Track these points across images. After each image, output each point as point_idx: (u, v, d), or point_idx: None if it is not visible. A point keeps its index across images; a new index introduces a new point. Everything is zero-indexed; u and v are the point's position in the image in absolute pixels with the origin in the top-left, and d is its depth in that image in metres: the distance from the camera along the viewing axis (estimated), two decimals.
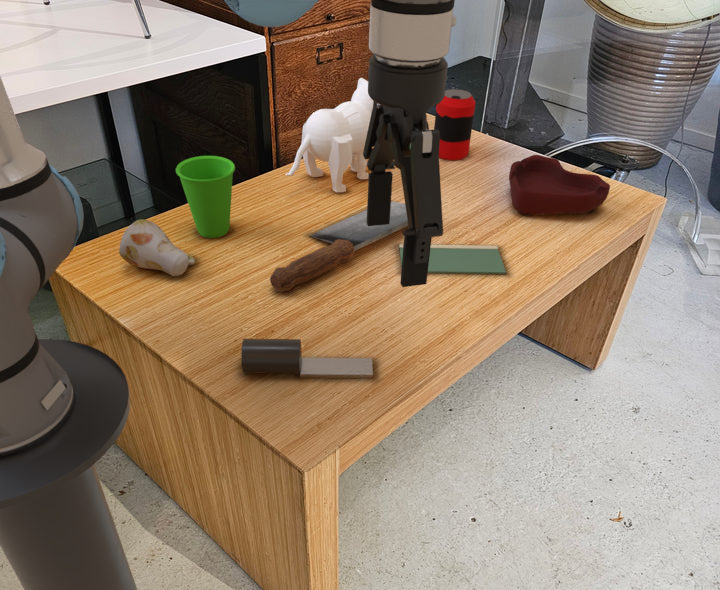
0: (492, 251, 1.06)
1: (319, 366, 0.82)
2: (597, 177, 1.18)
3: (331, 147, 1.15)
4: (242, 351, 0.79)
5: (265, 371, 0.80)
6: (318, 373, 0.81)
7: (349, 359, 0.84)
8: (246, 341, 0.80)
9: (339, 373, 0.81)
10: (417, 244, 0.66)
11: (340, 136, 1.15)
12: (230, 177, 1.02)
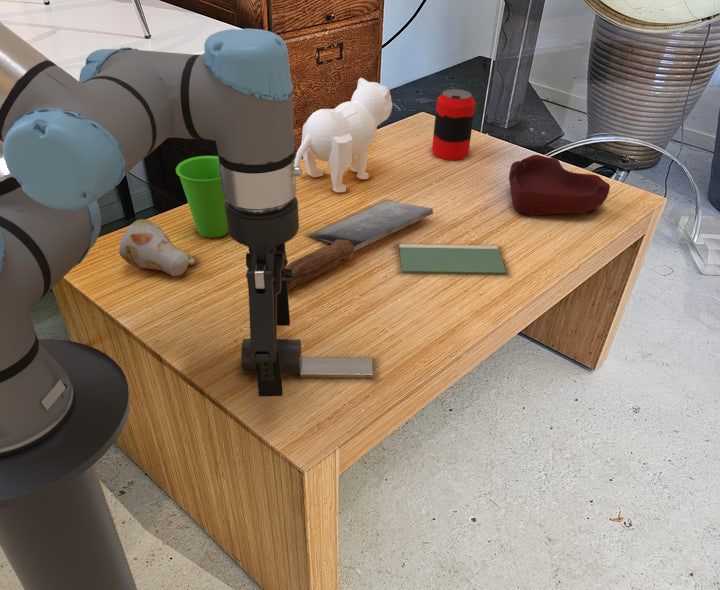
0: (492, 251, 1.06)
1: (319, 366, 0.82)
2: (597, 177, 1.18)
3: (331, 147, 1.15)
4: (242, 351, 0.79)
5: None
6: (318, 373, 0.81)
7: (349, 359, 0.84)
8: (246, 341, 0.80)
9: (339, 373, 0.81)
10: (260, 364, 0.71)
11: (340, 136, 1.15)
12: None
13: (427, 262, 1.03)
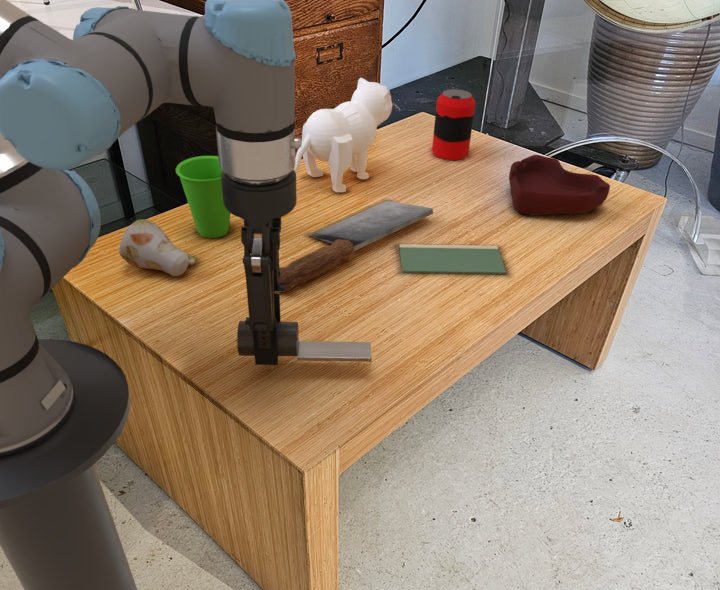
0: (492, 251, 1.06)
1: (316, 349, 0.81)
2: (597, 177, 1.18)
3: (331, 147, 1.15)
4: (238, 333, 0.78)
5: None
6: (315, 356, 0.80)
7: (347, 343, 0.82)
8: (242, 323, 0.78)
9: (336, 357, 0.80)
10: (258, 333, 0.74)
11: (340, 136, 1.15)
12: None
13: (427, 262, 1.03)
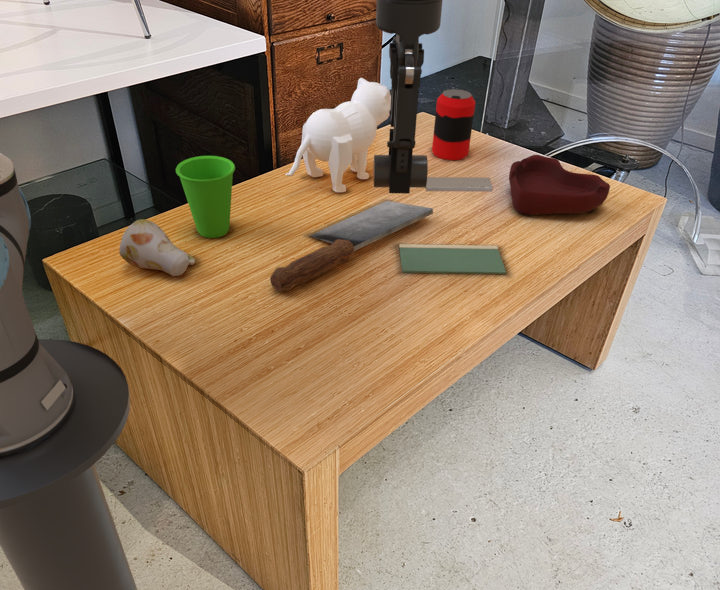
0: (492, 251, 1.06)
1: (442, 182, 0.89)
2: (597, 177, 1.18)
3: (331, 147, 1.15)
4: (375, 162, 0.86)
5: None
6: (442, 186, 0.88)
7: (468, 178, 0.91)
8: (377, 155, 0.87)
9: (461, 186, 0.88)
10: (398, 155, 0.83)
11: (340, 136, 1.15)
12: (230, 177, 1.02)
13: (427, 262, 1.03)
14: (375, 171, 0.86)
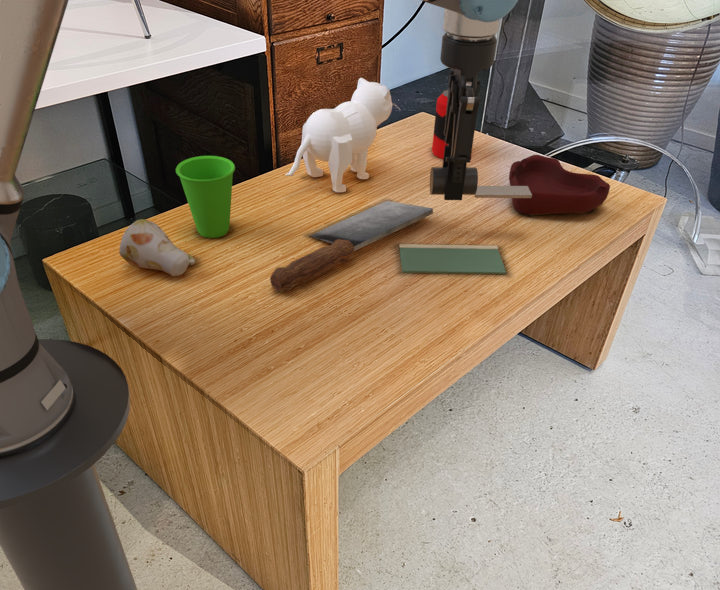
0: (492, 251, 1.06)
1: (488, 190, 1.05)
2: (597, 177, 1.18)
3: (331, 147, 1.15)
4: (433, 174, 1.02)
5: None
6: (489, 194, 1.04)
7: (510, 186, 1.06)
8: (435, 168, 1.03)
9: (505, 194, 1.04)
10: (454, 168, 0.99)
11: (340, 136, 1.15)
12: (230, 177, 1.02)
13: (427, 262, 1.03)
14: (433, 181, 1.02)
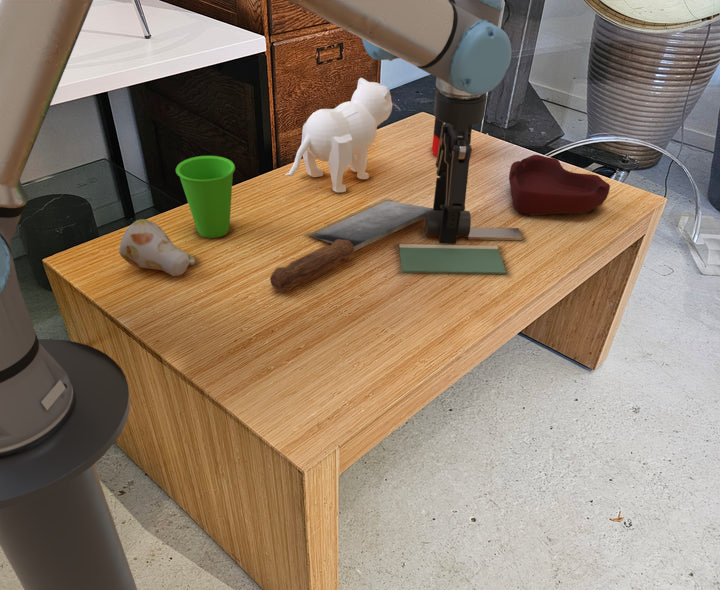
0: (492, 251, 1.06)
1: (481, 232, 1.10)
2: (597, 177, 1.18)
3: (331, 147, 1.15)
4: (428, 217, 1.07)
5: None
6: (481, 236, 1.09)
7: (501, 228, 1.11)
8: (430, 211, 1.08)
9: (497, 236, 1.09)
10: (449, 215, 1.02)
11: (340, 136, 1.15)
12: (230, 177, 1.02)
13: (427, 262, 1.03)
14: (428, 224, 1.07)
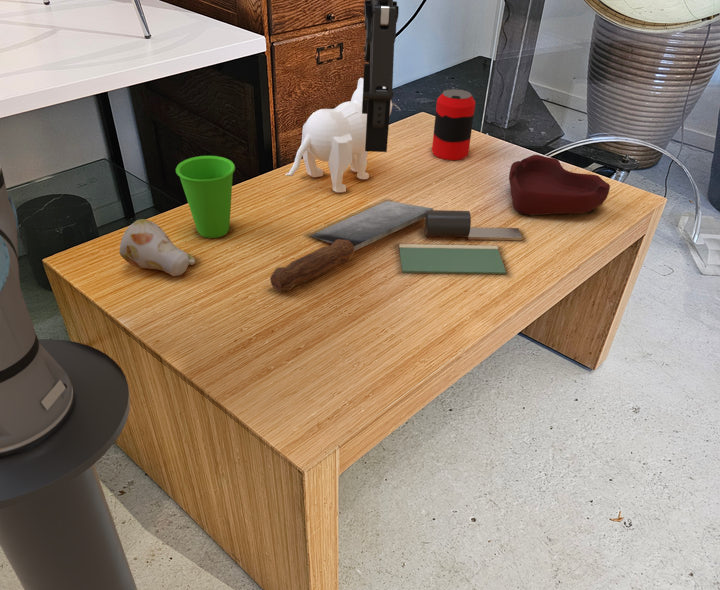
0: (492, 251, 1.06)
1: (481, 232, 1.10)
2: (597, 177, 1.18)
3: (331, 147, 1.15)
4: (428, 217, 1.07)
5: (443, 233, 1.08)
6: (481, 236, 1.09)
7: (501, 228, 1.11)
8: (430, 211, 1.08)
9: (497, 236, 1.09)
10: (374, 108, 0.78)
11: (340, 136, 1.15)
12: (230, 177, 1.02)
13: (427, 262, 1.03)
14: (428, 224, 1.07)
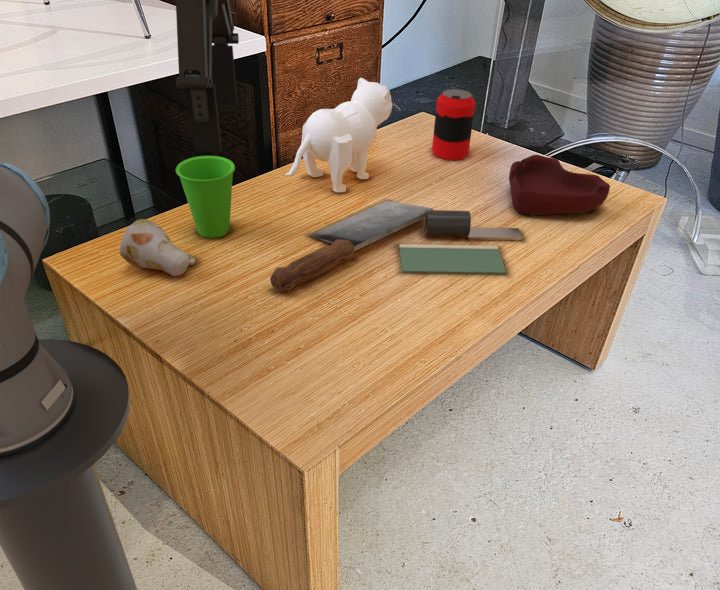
0: (492, 251, 1.06)
1: (481, 232, 1.10)
2: (597, 177, 1.18)
3: (331, 147, 1.15)
4: (428, 217, 1.07)
5: (443, 233, 1.08)
6: (481, 236, 1.09)
7: (501, 228, 1.11)
8: (430, 211, 1.08)
9: (497, 236, 1.09)
10: (192, 98, 0.63)
11: (340, 136, 1.15)
12: (230, 177, 1.02)
13: (427, 262, 1.03)
14: (428, 224, 1.07)
